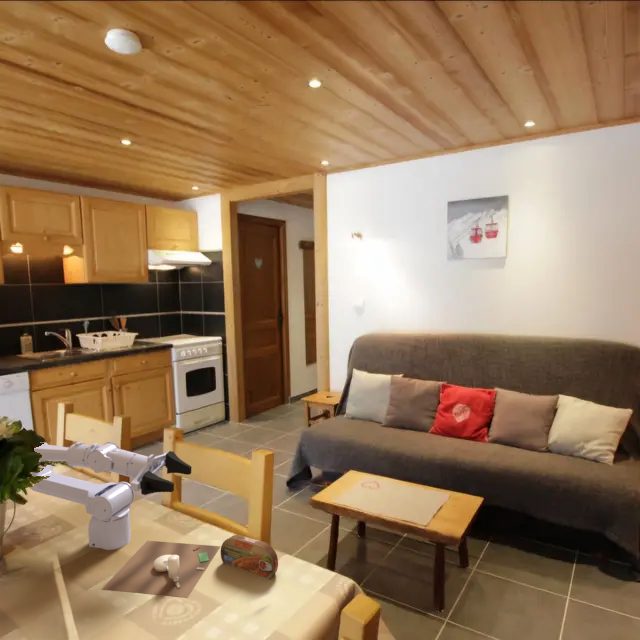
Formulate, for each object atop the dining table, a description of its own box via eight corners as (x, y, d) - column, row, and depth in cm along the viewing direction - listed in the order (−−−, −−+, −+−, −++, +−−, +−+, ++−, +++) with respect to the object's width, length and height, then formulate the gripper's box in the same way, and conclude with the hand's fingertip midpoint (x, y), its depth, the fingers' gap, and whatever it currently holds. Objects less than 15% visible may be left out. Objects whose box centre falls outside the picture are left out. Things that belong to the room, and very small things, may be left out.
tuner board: (101, 595, 100) (101, 588, 100) (147, 546, 119) (147, 539, 119) (187, 604, 97) (187, 596, 97) (220, 552, 116) (220, 545, 115)
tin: (220, 569, 109) (218, 535, 108) (228, 562, 112) (227, 529, 111) (273, 588, 102) (272, 551, 101) (280, 579, 105) (279, 544, 104)
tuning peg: (151, 563, 108) (150, 543, 108) (172, 556, 111) (171, 536, 111) (165, 587, 100) (164, 565, 99) (187, 578, 103) (186, 557, 102)
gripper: (114, 466, 107) (164, 481, 104) (152, 437, 121) (198, 449, 117) (114, 492, 109) (164, 507, 106) (152, 461, 123) (197, 473, 119)
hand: (182, 478), depth 112 cm, fingers open, 7 cm apart
